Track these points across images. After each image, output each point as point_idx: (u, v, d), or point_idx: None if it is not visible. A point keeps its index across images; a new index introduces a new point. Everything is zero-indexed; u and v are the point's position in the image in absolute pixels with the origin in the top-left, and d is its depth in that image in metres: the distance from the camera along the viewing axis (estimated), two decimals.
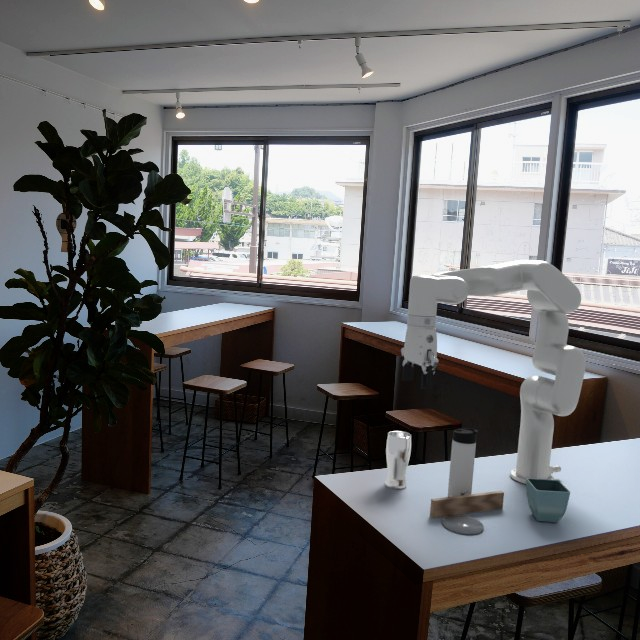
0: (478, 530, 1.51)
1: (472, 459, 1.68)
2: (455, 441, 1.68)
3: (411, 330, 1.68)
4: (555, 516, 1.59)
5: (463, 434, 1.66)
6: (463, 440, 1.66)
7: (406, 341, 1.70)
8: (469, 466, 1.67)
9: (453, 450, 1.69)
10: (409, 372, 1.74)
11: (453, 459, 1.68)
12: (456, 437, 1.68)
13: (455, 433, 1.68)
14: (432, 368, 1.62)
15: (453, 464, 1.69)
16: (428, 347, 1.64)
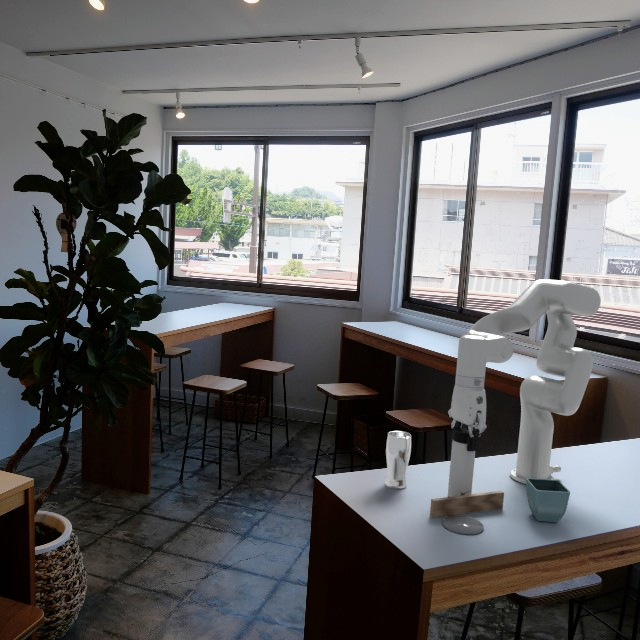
0: (478, 530, 1.51)
1: (472, 459, 1.67)
2: (455, 441, 1.68)
3: (459, 390, 1.67)
4: (555, 516, 1.59)
5: (463, 434, 1.66)
6: (463, 440, 1.66)
7: (453, 400, 1.70)
8: (469, 466, 1.67)
9: (453, 450, 1.68)
10: None
11: (453, 459, 1.68)
12: (456, 437, 1.67)
13: (455, 433, 1.68)
14: (479, 432, 1.63)
15: (453, 464, 1.68)
16: (478, 408, 1.63)
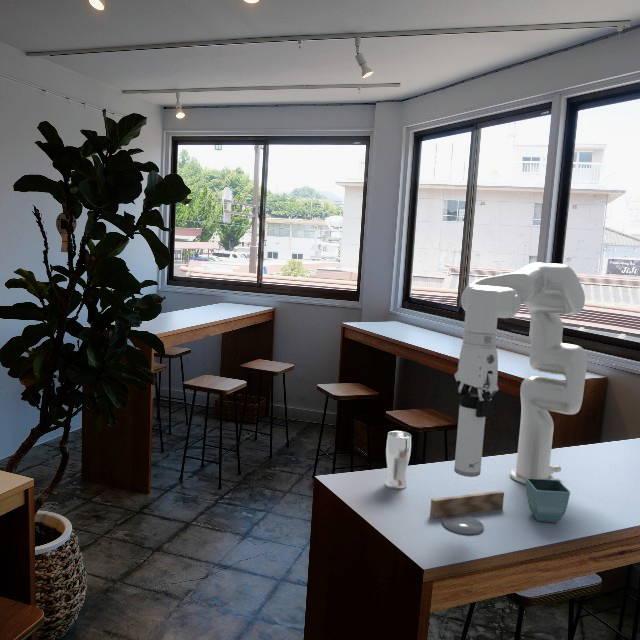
0: (478, 530, 1.51)
1: (482, 426, 1.50)
2: (463, 406, 1.50)
3: (467, 349, 1.49)
4: (555, 516, 1.59)
5: (472, 398, 1.48)
6: (471, 404, 1.48)
7: (461, 361, 1.52)
8: (479, 434, 1.49)
9: (460, 416, 1.51)
10: None
11: (461, 427, 1.50)
12: (464, 401, 1.50)
13: (463, 397, 1.50)
14: (489, 395, 1.45)
15: (460, 432, 1.51)
16: (488, 368, 1.46)
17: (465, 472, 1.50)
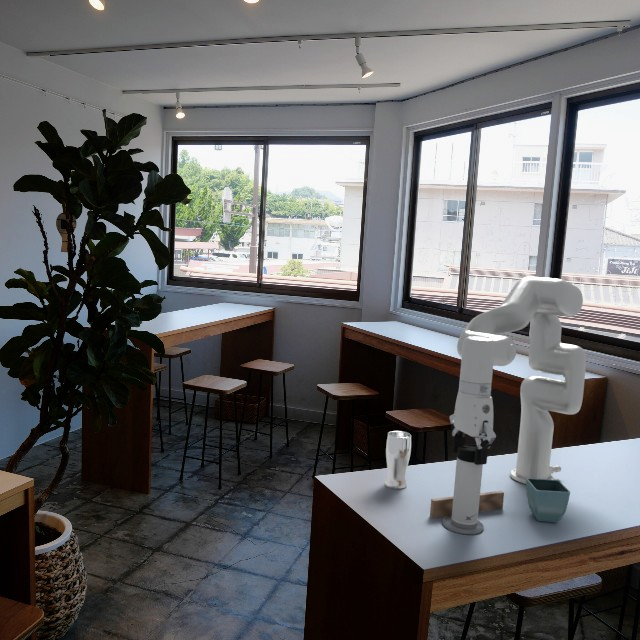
0: (478, 530, 1.51)
1: (479, 479, 1.51)
2: (460, 459, 1.51)
3: (463, 398, 1.51)
4: (555, 516, 1.59)
5: (469, 452, 1.50)
6: (469, 458, 1.50)
7: (457, 408, 1.54)
8: (476, 487, 1.51)
9: (458, 469, 1.52)
10: (460, 443, 1.56)
11: (458, 480, 1.52)
12: (461, 455, 1.51)
13: (460, 450, 1.51)
14: (488, 443, 1.45)
15: (458, 485, 1.52)
16: (484, 418, 1.47)
17: (462, 524, 1.52)
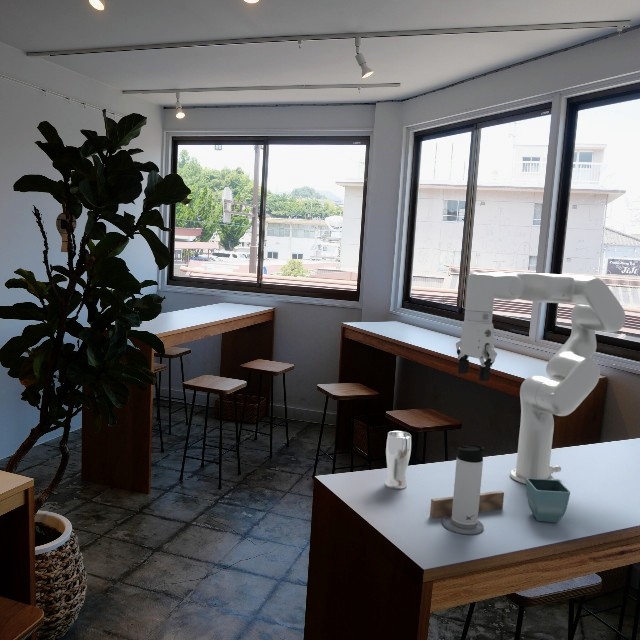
0: (478, 530, 1.51)
1: (479, 479, 1.51)
2: (460, 459, 1.51)
3: (468, 325, 1.76)
4: (555, 516, 1.59)
5: (469, 452, 1.50)
6: (469, 458, 1.50)
7: (463, 335, 1.78)
8: (476, 487, 1.51)
9: (458, 469, 1.52)
10: (464, 365, 1.81)
11: (458, 480, 1.52)
12: (461, 454, 1.51)
13: (460, 450, 1.51)
14: (490, 361, 1.70)
15: (457, 485, 1.52)
16: (486, 341, 1.72)
17: (462, 524, 1.52)
